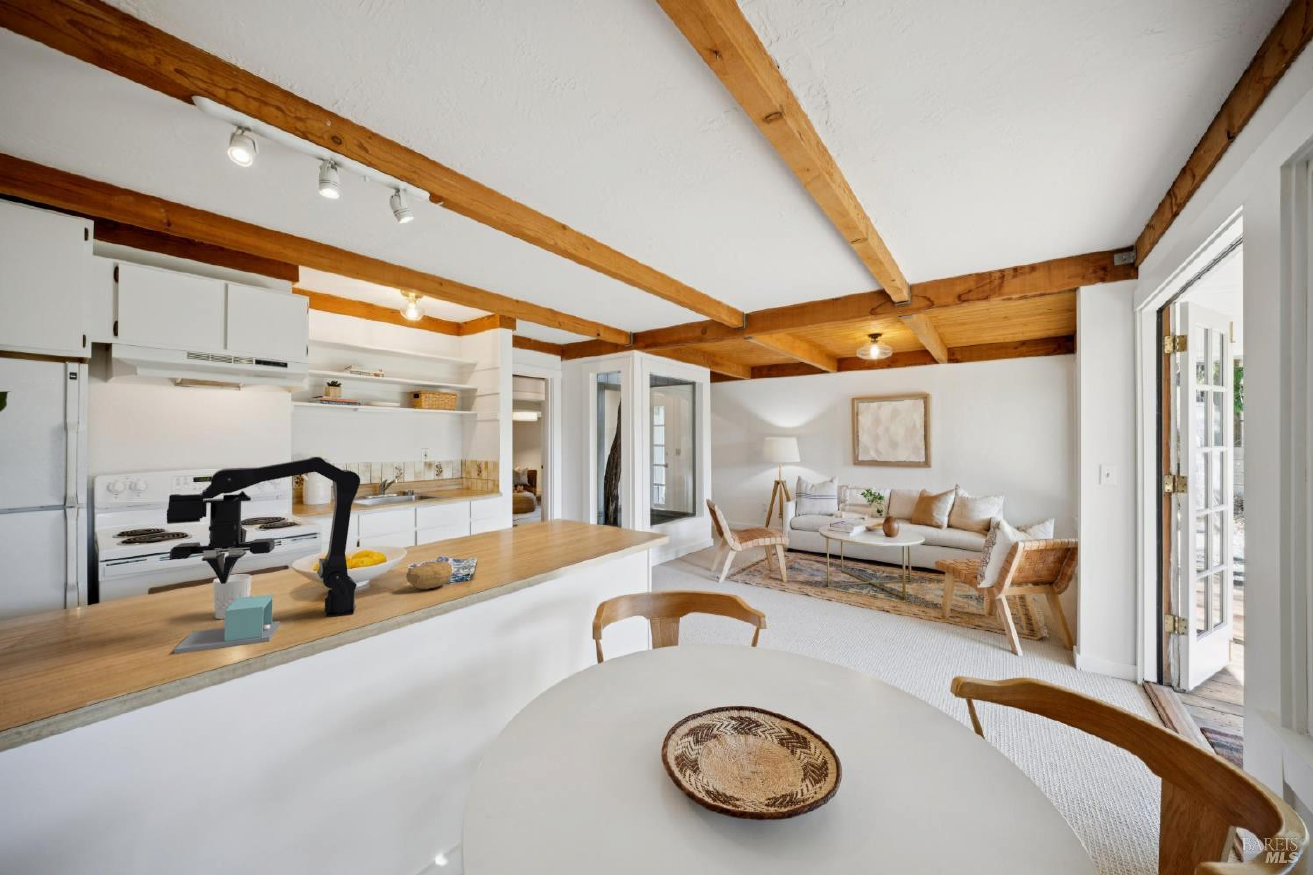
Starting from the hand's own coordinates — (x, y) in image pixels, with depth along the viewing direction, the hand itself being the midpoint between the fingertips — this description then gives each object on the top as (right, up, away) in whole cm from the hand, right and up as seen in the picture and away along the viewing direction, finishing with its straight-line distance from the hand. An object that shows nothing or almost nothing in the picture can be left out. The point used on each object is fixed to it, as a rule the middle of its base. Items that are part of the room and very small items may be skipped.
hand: (224, 583), depth 121 cm
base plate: (+4, -13, -2) cm, 13 cm away
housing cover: (+7, -12, -1) cm, 14 cm away
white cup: (-9, -13, +12) cm, 20 cm away
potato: (+32, -14, +39) cm, 53 cm away
